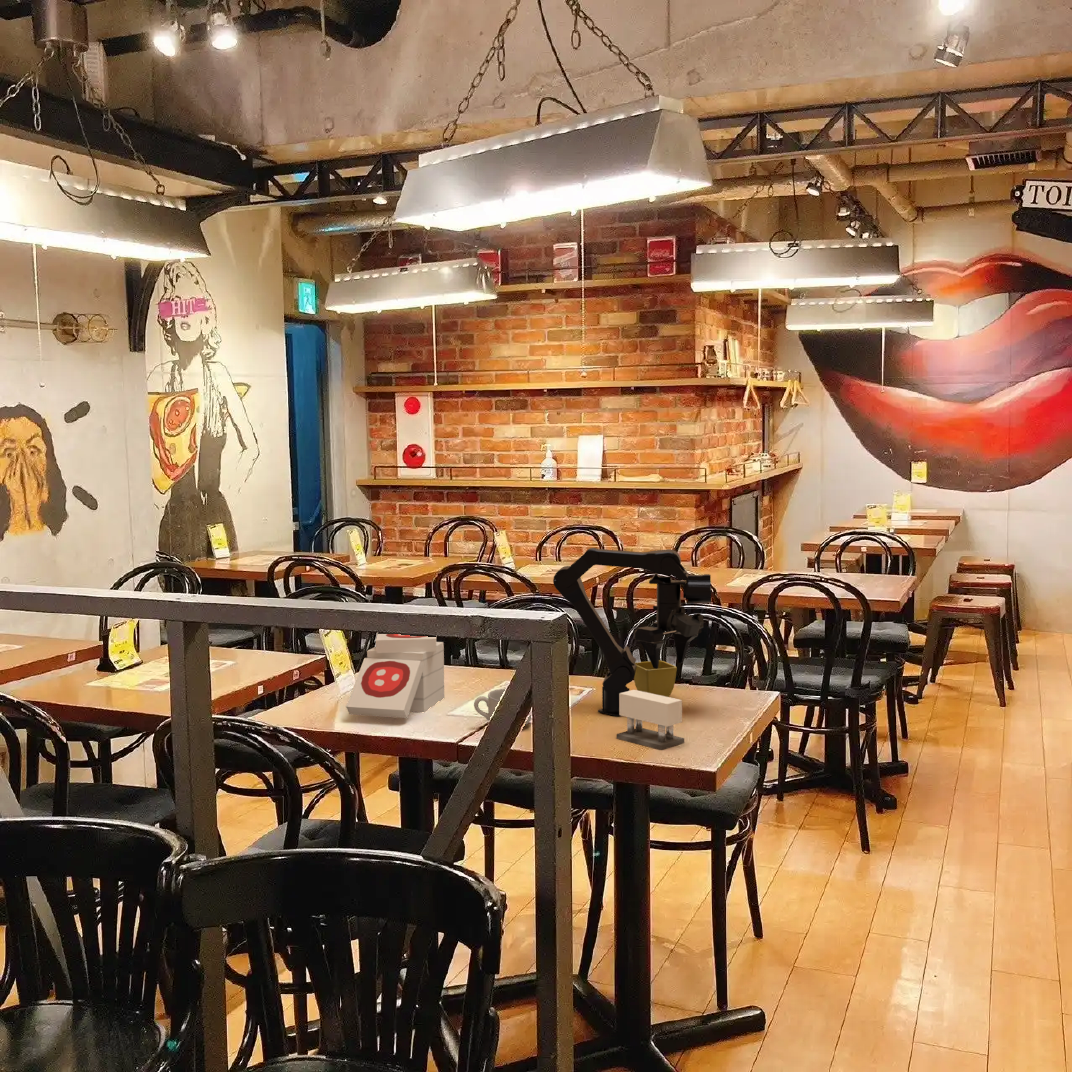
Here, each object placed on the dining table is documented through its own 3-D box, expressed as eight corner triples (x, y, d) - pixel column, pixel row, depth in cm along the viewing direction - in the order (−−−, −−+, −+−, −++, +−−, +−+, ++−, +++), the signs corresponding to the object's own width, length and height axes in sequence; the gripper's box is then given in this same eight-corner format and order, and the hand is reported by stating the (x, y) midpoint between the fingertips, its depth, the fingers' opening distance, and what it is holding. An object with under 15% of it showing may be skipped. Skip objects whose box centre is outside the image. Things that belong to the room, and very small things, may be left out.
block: (681, 722, 249) (682, 700, 248) (667, 726, 245) (667, 704, 245) (633, 711, 259) (633, 689, 258) (619, 715, 255) (619, 693, 255)
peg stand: (616, 738, 254) (616, 716, 254) (639, 731, 260) (639, 710, 259) (661, 750, 245) (661, 727, 244) (684, 742, 250) (684, 720, 250)
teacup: (533, 720, 271) (532, 687, 270) (534, 732, 260) (534, 698, 259) (474, 721, 270) (474, 688, 269) (473, 733, 259) (473, 699, 258)
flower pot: (677, 701, 288) (677, 666, 287) (647, 704, 285) (647, 669, 284) (661, 693, 296) (661, 660, 295) (631, 697, 293) (631, 662, 292)
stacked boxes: (339, 722, 270) (337, 647, 269) (387, 693, 299) (386, 625, 297) (413, 727, 265) (412, 651, 264) (455, 697, 294) (454, 628, 292)
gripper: (669, 610, 260) (668, 677, 262) (719, 601, 273) (718, 664, 274) (633, 605, 268) (633, 669, 270) (683, 596, 281) (683, 658, 283)
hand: (668, 665), depth 274 cm, fingers open, 9 cm apart
